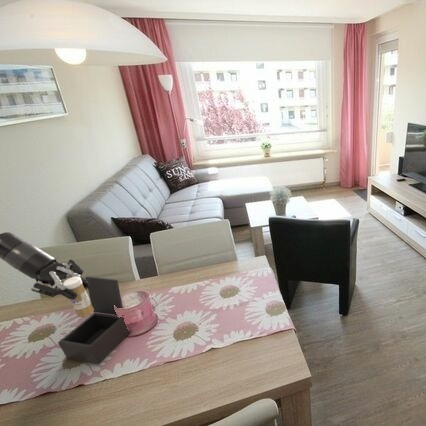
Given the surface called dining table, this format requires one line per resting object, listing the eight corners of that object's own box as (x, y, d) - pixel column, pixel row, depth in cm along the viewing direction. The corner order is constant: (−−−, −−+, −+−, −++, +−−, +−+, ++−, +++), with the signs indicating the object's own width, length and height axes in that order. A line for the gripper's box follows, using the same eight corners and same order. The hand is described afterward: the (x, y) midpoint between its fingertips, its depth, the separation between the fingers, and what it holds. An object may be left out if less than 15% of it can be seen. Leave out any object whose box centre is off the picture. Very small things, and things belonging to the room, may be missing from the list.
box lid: (115, 280, 104) (117, 279, 104) (85, 277, 106) (87, 276, 107) (122, 316, 107) (124, 314, 108) (93, 312, 110) (95, 310, 111)
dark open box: (98, 364, 99) (89, 347, 95) (67, 358, 101) (57, 342, 98) (130, 332, 111) (123, 316, 108) (101, 328, 114) (94, 312, 110)
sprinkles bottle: (74, 318, 95) (58, 285, 90) (84, 308, 99) (69, 276, 94) (89, 317, 95) (73, 284, 90) (97, 307, 99) (83, 275, 94)
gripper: (10, 266, 81) (68, 300, 86) (55, 240, 94) (103, 271, 99) (2, 281, 84) (58, 314, 88) (46, 254, 97) (94, 284, 101)
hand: (82, 291), depth 94 cm, fingers closed on sprinkles bottle, 4 cm apart
